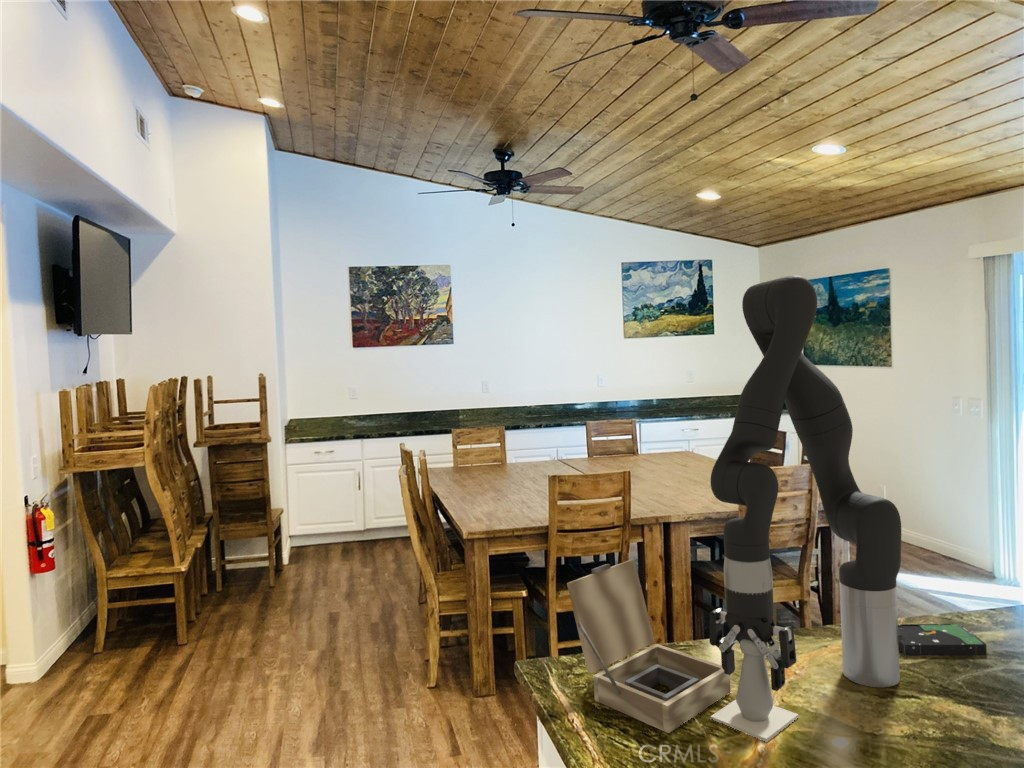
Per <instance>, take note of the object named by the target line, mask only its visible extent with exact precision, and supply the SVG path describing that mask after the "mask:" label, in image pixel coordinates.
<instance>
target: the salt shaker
mask: <svg viewBox="0 0 1024 768" xmlns="http://www.w3.org/2000/svg"><path fill="white" fill-rule="evenodd" d="M765 645H766V646H767V647H768V648H769V644H768V642H767V643H766V644H765ZM739 649H740V651H741V652H742V654H743V658H742V663H741V664H742V665H741V669H740V676H739V681H738V685H737V686H738V687H737V692H736V695H735V696H736V697H735V700H736V702H737V704H738V706H739V708H740V711H741V713H742V716H743V717H744V718H747V719H749V720H751V721H765V719H766V718H767V717H768V715H769V713H770V711H771V710H772V707H773V705H774V703H775V702H774V698H773V693H772V688H771V681H770V678H769V673H768V667H767V662H766V659H765V658H766V657H765V656H763V655H762V653H761V652H760V650H759V649H758V647H757V645H756V644H755V643H754V642H752V641H750V640H746V639H743V640H741V641H740V644H739Z"/></svg>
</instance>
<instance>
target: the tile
mask: <svg viewBox="0 0 1024 768" xmlns="http://www.w3.org/2000/svg"><path fill="white" fill-rule="evenodd" d="M797 718H798V719H799V713H796V712H792V711H790V710H788V709H784V708H782V707H779V706H777V705H774V704H773V707H772V710H771V711H770V713H769V715H768V717H767V718H766V719H765V721H751V720H749V719H747V718H744V717H743V716H742V713H741V711H740V708H739V706H738V704H737V702H736V699H734V700H732V701H731V702H729V703H728V704H727V705H725V706H724V707H722V708H721V709H719V710H718V711H716V712H715V713H714V714H712V715H710V720H711V719H713V720H715V721H717V722H720V723H723V724H725V725H727V726H730V727H732V728H734V729H733V730H735V729H737V730H739V731H742V732H744V733H747V734H749V735H751V736H750V737H752V736H754V737H756V738H755V739H757V738H758V739H757V740H759V739H761V740H760V741H762V740H763V741H762V742H764V741H765V743H769V741H771V740H772V739H773V738H775V737H776V736H777V735H779V734H780V733H781V732H782V731H784V730H785V729H787V728H788V727H789V726H790V725H791V724H793V723H794V722H795V721H797V720H798V719H797ZM794 720H795V721H794ZM715 721H714V722H715ZM717 722H716V723H717ZM792 722H793V723H792ZM720 723H719V724H720ZM789 724H790V725H789ZM725 725H724V726H725ZM788 725H789V726H788ZM727 726H726V727H727ZM730 727H729V728H730ZM732 728H731V729H732ZM784 728H785V729H784ZM783 729H784V730H783ZM737 730H736V731H737ZM739 731H738V732H739ZM780 731H781V732H780ZM742 732H741V733H742ZM779 732H780V733H779ZM744 733H743V734H744ZM747 734H746V735H747ZM749 735H748V736H749ZM775 735H776V736H775ZM774 736H775V737H774ZM754 737H753V738H754ZM771 738H772V739H771ZM770 739H771V740H770Z"/></svg>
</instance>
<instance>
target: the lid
mask: <svg viewBox="0 0 1024 768" xmlns="http://www.w3.org/2000/svg"><path fill="white" fill-rule="evenodd" d="M640 581H641V580H640V577H639V573H638V568H637V565H636V562H635V559H634V558H633V559H629V560H625V561H624V562H621V563H617V564H615V565H612V566H611V563H605V564H602V565H599V566H597V567H594V568H591V573H590V574H588V575H585V576H582V577H579V578H577V579H574V580H572V581H569V582H567V583H566V586H567V590H568V595H569V600H570V603H571V607H572V608H571V609H572V610H573V616H574V619H575V624H576V628H577V632H578V637H579V641H580V645H581V649H582V654H583V658H584V663H585V666H586V671H587V674H593V673H596V672H598V671H599V670H602V669H603V667H602V666H601V664H600V662H599V661H598V659H597V657H596V655H595V654H594V652H593V650H592V649H591V647H590V645H589V643H588V642H587V640H586V638H585V637H584V635H583V633H582V632H581V630H580V628H579V626H578V625H577V624H578V622H580V623H581V625H582V627H583V628H584V630H585V632H586V633H587V635H588V637H589V638H590V640H591V642H592V644H593V645H594V647H595V649H596V650H597V652H598V654H599V655H600V657H601V659H602V660H603V662H604V664H605V666H606V667H608V666H609V665H612V664H614V663H616V662H617V661H620V660H621V659H623V658H625V657H627V656H629V655H632V654H633V653H635V652H637V651H638V652H639V650H641V649H643V648H645V647H648V646H651V644H654V643H655V642H656V641H655V637H654V636H655V635H654V632H653V628H652V624H651V621H650V618H649V613H648V610H647V609H648V608H647V605H646V601H645V596H644V592H643V589H642V585H641V582H640Z"/></svg>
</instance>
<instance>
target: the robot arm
mask: <svg viewBox="0 0 1024 768" xmlns="http://www.w3.org/2000/svg"><path fill="white" fill-rule="evenodd" d="M817 296H818V295H817V292H816V290H815V287H814V286H813V284H812V283H811V282H810V280H808V279H807V278H806V277H803V276H801V275H789V276H784V277H782V276H781V277H779V278H775V279H772V280H767V281H764V282H763V281H762V282H759V283H756V284H753V285H752V286H750V287H749V288H747V289H746V291H745V292H744V294H743V297H742V305H741V306H742V313H743V317H744V320H745V323H746V325H747V327H748V329H749V332H750V334H751V335H752V337H753V339H754V341H755V343H756V345H757V346H758V349H759V351H760V352H761V354H762V356H763V357H762V359H761V361H760V362H759V364H758V366H757V367H756V369H755V370H754V371H753V373H752V374H751V376H750V378H748V380H747V382H746V384H744V385H745V386H744V387H743V389H742V392H740V397H739V400H738V403H737V406H736V411H735V417H734V421H733V425H732V428H731V429H732V430H731V433H730V434H729V437H728V438H727V440H726V442H725V444H724V446H723V448H722V450H720V453H719V455H718V457H717V459H716V461H715V463H714V464H713V467H712V470H711V474H710V489H711V491H712V493H713V496H714V497H715V498H716V499H717V500H718V501H719V502H723V503H726V504H732V505H738V506H745V507H746V512H745V514H744V516H742V517H736V518H735V517H734V518H731V519H729V520H727V521H726V522H725V523H724V526H723V549H724V550H723V551H724V553H723V554H724V560H723V561H724V562H723V583H724V585H723V586H724V604H725V610H726V611H724V609H723V608H722V607H718V608H715V609H713V610H712V611H710V612H709V636H708V637H709V640H708V641H709V644H710V645H711V646H713V647H714V646H716V647H717V648H718V649H719V651H720V655H721V656H720V657H721V659H720V661H721V666H722V668H723V670H724V673H725V674H727V675H730V676H731V675H732V674H734V673H735V671H736V666H735V665H736V662H735V661H736V660H735V650H734V649H733V647H734V646H735V645H736V644H737V642H738V644H739V645H740V641H741V640H743V639H746V640H750V641H752V642H754V643H755V644H756V645H757V647H758V649H759V650H760V652H761V653H762V655H763V656H764V657H765V658H766V660H767V661H768V662H769V664H770V666H771V667H770V687H771V691H772V690H773V691H775V692H778V691H780V690H781V689H782V688H783V687H784V686H785V684H786V669H789V668H791V666H793V665H795V664H796V663H797V651H796V642H795V641H796V640H795V634H794V633H795V632H794V628H793V626H790V625H787V626H785V627H783V626H778V625H776V623H775V621H774V613H775V611H774V609H775V607H774V605H775V604H774V586H773V584H774V583H773V570H772V563H771V556H770V554H771V553H770V550H771V549H770V528H771V524H772V519H773V514H774V511H775V507H776V503H777V499H778V495H779V480H778V477H777V475H776V472H775V471H774V470H773V469H772V467H770V466H769V465H767V464H765V463H760V462H759V463H758V462H749V461H750V460H751V459H752V457H753V456H754V455H756V454H758V453H763V452H768V451H771V450H772V449H773V448H774V447H775V445H776V442H777V437H778V433H779V428H780V423H781V417H782V414H783V413H782V412H783V408H784V404H785V407H786V410H787V412H788V415H789V417H790V421H791V423H792V425H793V428H794V430H795V433H796V435H797V437H798V439H799V441H800V443H801V446H802V449H803V451H804V453H805V456H806V459H807V461H808V464H809V467H810V469H811V472H812V475H813V476H814V479H815V483H816V487H817V489H818V494H819V496H820V500H821V504H822V508H823V511H824V515H825V518H826V521H827V523H828V527H829V528H830V530H831V531H832V533H833V534H835V535H836V536H837V538H838V537H839V538H840V539H841V540H844V541H845V542H849V543H851V544H854V545H856V546H855V559H854V560H848V561H845V562H843V563H842V564H840V566H839V569H838V577H839V582H838V583H839V600H840V601H839V602H840V603H839V604H840V626H841V629H840V631H841V650H842V651H841V654H842V655H841V656H842V657H841V658H842V674H843V676H844V677H845V678H847V680H849V681H851V682H853V683H856V684H857V685H861V686H865V687H870V688H891V687H893V686H896V685H898V684H899V683H900V680H901V673H900V672H901V671H900V650H899V640H898V624H899V620H898V618H899V616H898V595H897V594H898V591H897V577H898V574H899V572H900V569H901V563H902V520H901V516H900V512H899V510H898V508H897V506H896V505H895V504H894V503H893V501H891V500H889V499H886V498H884V497H881V496H877V495H871V494H868V493H863V491H861V490H860V488H859V486H858V484H857V482H856V480H855V478H854V475H853V472H852V470H851V466H850V462H849V461H850V459H849V458H850V457H849V456H850V451H851V444H852V439H853V423H852V419H851V416H850V413H849V411H848V408H847V407H846V403H845V400H844V398H843V396H842V393H841V392H840V389H839V388H838V387H837V385H835V383H834V382H833V381H832V380H831V379H830V378H829V377H828V376H827V375H826V374H825V373H824V372H822V371H821V370H820V369H819V368H818V367H817V366H816V365H815V364H814V363H813V362H812V361H810V359H809V358H808V357H806V355H804V353H803V349H804V347H805V344H806V343H807V339H808V336H809V333H810V332H811V328H812V326H813V324H814V321H815V318H816V314H817V309H818V308H817V307H818V298H817ZM725 623H726V625H727V626H728V628H729V630H730V631H729V632H728V633H727V635H726V636H725V637H724V634H725V633H724V632H725V631H724V630H725V629H724V628H725V625H724V624H725ZM773 635H775V636H776V639H775V637H774V636H773ZM778 642H779V643H778ZM766 643H767V644H768V647H767V646H766V645H765V644H766Z"/></svg>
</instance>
